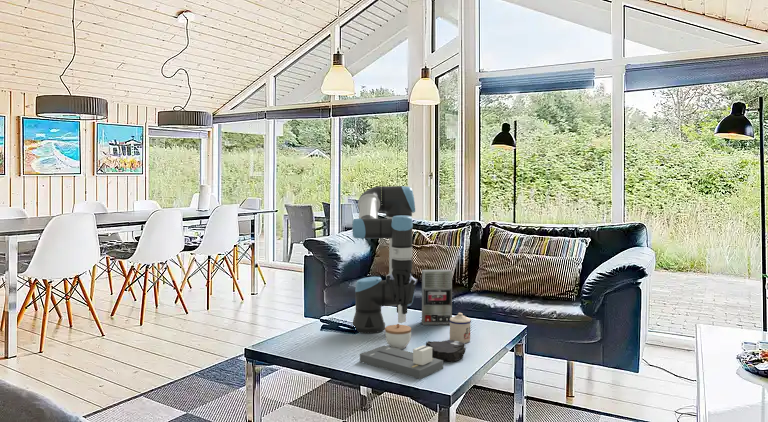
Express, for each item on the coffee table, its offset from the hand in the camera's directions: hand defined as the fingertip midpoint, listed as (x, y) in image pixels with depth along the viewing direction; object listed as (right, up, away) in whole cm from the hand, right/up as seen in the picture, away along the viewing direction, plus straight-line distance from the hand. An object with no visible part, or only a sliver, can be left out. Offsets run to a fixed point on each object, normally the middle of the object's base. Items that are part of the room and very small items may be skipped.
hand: (401, 321), depth 211 cm
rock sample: (+17, -16, +12) cm, 26 cm away
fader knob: (+7, -13, -6) cm, 16 cm away
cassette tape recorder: (+18, -12, +60) cm, 64 cm away
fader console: (0, -16, +1) cm, 16 cm away
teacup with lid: (+26, -14, +33) cm, 45 cm away
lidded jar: (-1, -15, +23) cm, 28 cm away
